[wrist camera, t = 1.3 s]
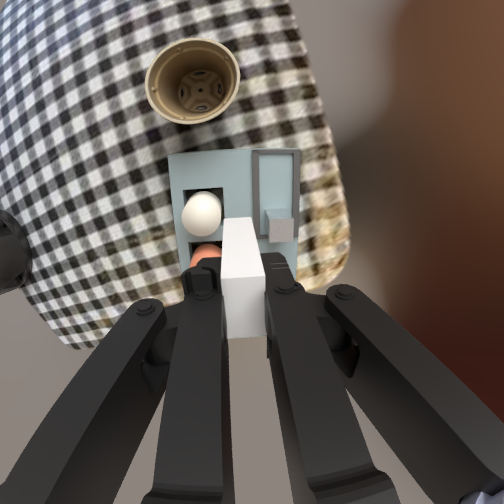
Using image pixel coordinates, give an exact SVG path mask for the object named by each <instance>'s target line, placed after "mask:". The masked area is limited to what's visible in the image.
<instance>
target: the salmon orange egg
mask: <svg viewBox="0 0 504 504" xmlns="http://www.w3.org/2000/svg"><path fill="white" fill-rule="evenodd" d="M221 256H222V250H221V249H220V248H219V247H218V246H216V245H213V244H203V245H201V246H199V247H197V248H196V249H195V251H194V253H193V256H192V259H191V263H190V267H189V268H191V267H193V266H196V264H197V262H198V261H199V260H201V259H202V258H206V257H221Z"/></svg>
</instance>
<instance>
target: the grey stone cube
mask: <svg viewBox="0 0 504 504" xmlns="http://www.w3.org/2000/svg"><path fill="white" fill-rule="evenodd" d="M265 231H266V234H267V237H268V240H269V243H272V242H292V241H293V233H294V218H293V217H292V215H291V214H290V212H289V211H288V210H287V209H272V210H265Z"/></svg>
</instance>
